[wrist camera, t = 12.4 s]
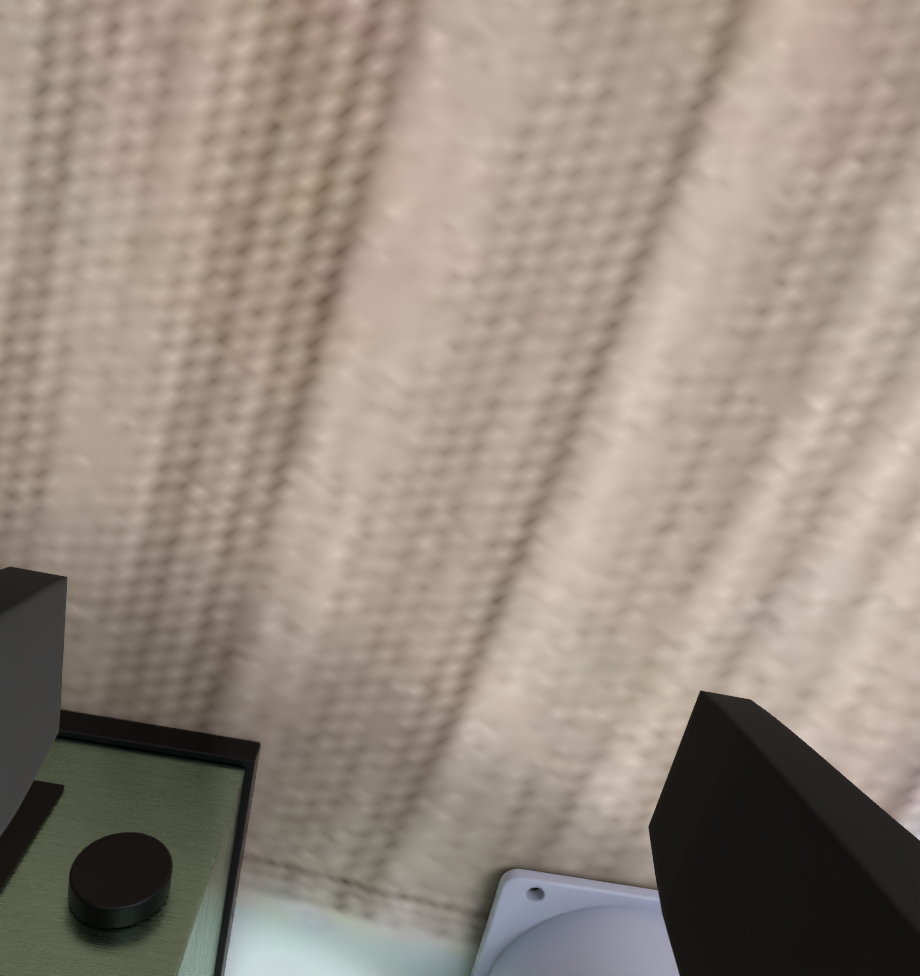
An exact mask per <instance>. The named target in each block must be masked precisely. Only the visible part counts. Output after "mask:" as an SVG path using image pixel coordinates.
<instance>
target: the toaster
mask: <svg viewBox="0 0 920 976" xmlns="http://www.w3.org/2000/svg"><path fill="white" fill-rule="evenodd" d="M260 747H261V744H260V743H259V742H254V741H248V740H242V739H236V738H230V737H223V736H217V735H211V734H205V733H199V732H193V731H187V730H181V729H175V728H169V727H163V726H157V725H151V724H145V723H139V722H133V721H127V720H120V719H114V718H108V717H102V716H96V715H90V714H84V713H78V712H72V711H66V710H60V724H59V732H58V734H57V736H56V738H55V740H54V742H53V744H52V746H51V748H50V750H49V752H48V754H47V756H46V758H45V760H44V762H43V764H42V766H41V768H40V770H39V772H38V773H37V775H36V777H35V779H34V781H33V783H32V785H31V787H30V788H29V790H28V792H27V794H26V796H25V798H24V799H23V801H22V803H21V805H20V807H19V809H18V811H17V812H16V814H15V816H14V817H13V819H12V820H11V822H10V823H9V825H8V826H7V828H6V829H5V830H4V832H3V833H2V835H1V836H0V976H224V972H225V966H226V960H227V953H228V947H229V941H230V934H231V928H232V922H233V916H234V909H235V903H236V897H237V891H238V884H239V878H240V872H241V866H242V859H243V853H244V847H245V841H246V834H247V828H248V822H249V816H250V809H251V803H252V797H253V790H254V784H255V778H256V772H257V765H258V759H259V753H260Z"/></svg>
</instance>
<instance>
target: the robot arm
mask: <svg viewBox="0 0 920 976" xmlns="http://www.w3.org/2000/svg"><path fill="white" fill-rule="evenodd" d="M66 591H67V577H65V576H59V575H53V574H48V573H42V572H37V571H31V570H26V569H20V568H14V567H7V568H4V569H1V570H0V836H1V835H2V833H3V832H4V830H5V829H6V828H7V826H8V825H9V823H10V822H11V820H12V819H13V817H14V816H15V814H16V812H17V811H18V809H19V807H20V805H21V803H22V801H23V799H24V798H25V796H26V794H27V792H28V790H29V788H30V787H31V785H32V783H33V781H34V779H35V777H36V775H37V773H38V772H39V770H40V768H41V766H42V764H43V762H44V760H45V758H46V756H47V754H48V752H49V750H50V748H51V746H52V744H53V742H54V740H55V738H56V736H57V734H58V732H59V724H60V705H61V686H62V667H63V648H64V629H65V610H66ZM649 834H650V841H651V848H652V855H653V863H654V870H655V876H656V882H657V888H658V890H653V889H647V888H641V887H634V886H628V885H621V884H615V883H608V882H602V881H596V880H589V879H583V878H576V877H570V876H563V875H557V874H551V873H544V872H538V871H531V870H525V869H513V870H509V871H507V872H506V873H505V874H503V876H502V877H501V879H500V882H499V885H498V888H497V892H496V895H495V898H494V901H493V905H492V908H491V911H490V914H489V918H488V921H487V924H486V927H485V931H484V934H483V937H482V940H481V944H480V947H479V950H478V953H477V957H476V960H475V963H474V966H473V970H472V973H471V976H920V840H918V839H917V838H916V837H915V836H914V835H912V834H911V833H910V832H909V831H908V830H906V829H905V828H904V827H903V826H902V825H900V824H899V823H898V822H897V821H896V820H895V819H893V818H892V817H891V816H890V815H889V814H888V813H886V812H885V811H884V810H883V809H882V808H880V807H879V806H878V805H877V804H876V803H875V802H873V801H872V800H871V799H870V798H869V797H868V796H866V795H865V794H864V793H863V792H862V791H861V790H860V789H858V788H857V787H856V786H855V785H854V784H853V783H851V782H850V781H849V780H848V779H847V778H846V777H845V776H843V775H842V774H841V773H840V772H839V771H838V770H836V769H835V768H834V767H833V766H832V765H831V764H830V763H828V762H827V761H826V760H825V759H824V758H823V757H821V756H820V755H819V754H818V753H817V752H816V751H814V750H813V749H812V748H811V747H810V746H809V745H807V744H806V743H805V742H804V741H803V740H802V739H800V738H799V737H798V736H797V735H796V734H794V733H793V732H792V731H791V730H790V729H788V728H787V727H786V726H785V725H784V724H782V723H781V722H780V721H779V720H777V719H776V718H775V717H774V716H772V715H771V714H770V713H768V712H767V711H766V710H764V709H763V708H762V707H760V706H759V705H757V704H756V703H755V702H753V701H752V700H750V699H744V698H739V697H733V696H728V695H722V694H717V693H711V692H705V691H700V693H699V695H698V698H697V701H696V703H695V706H694V709H693V711H692V714H691V716H690V719H689V722H688V724H687V727H686V730H685V732H684V735H683V737H682V740H681V743H680V745H679V748H678V751H677V753H676V756H675V759H674V761H673V764H672V766H671V769H670V772H669V774H668V777H667V780H666V782H665V785H664V787H663V790H662V793H661V795H660V798H659V801H658V803H657V806H656V808H655V811H654V814H653V816H652V819H651V822H650V824H649ZM531 888H540V889H537V890H530V889H531Z"/></svg>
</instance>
